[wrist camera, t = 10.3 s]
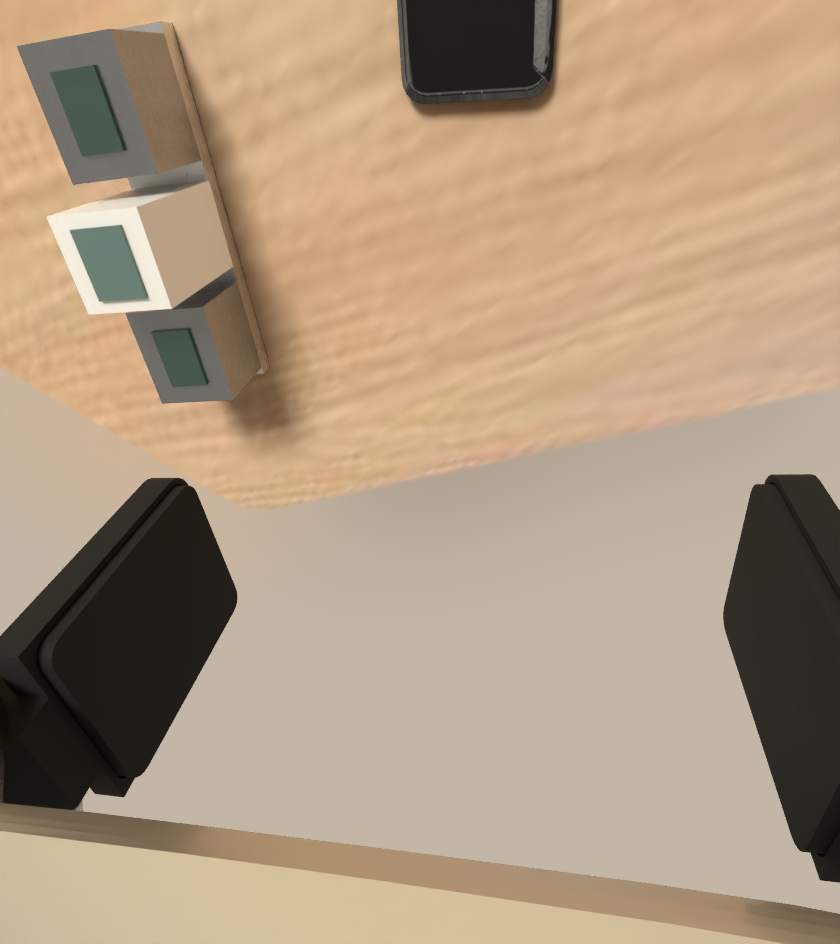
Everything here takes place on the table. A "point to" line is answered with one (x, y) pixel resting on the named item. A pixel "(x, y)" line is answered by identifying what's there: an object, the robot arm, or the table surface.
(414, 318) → the table surface
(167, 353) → the rail
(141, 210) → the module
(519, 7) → the phone
